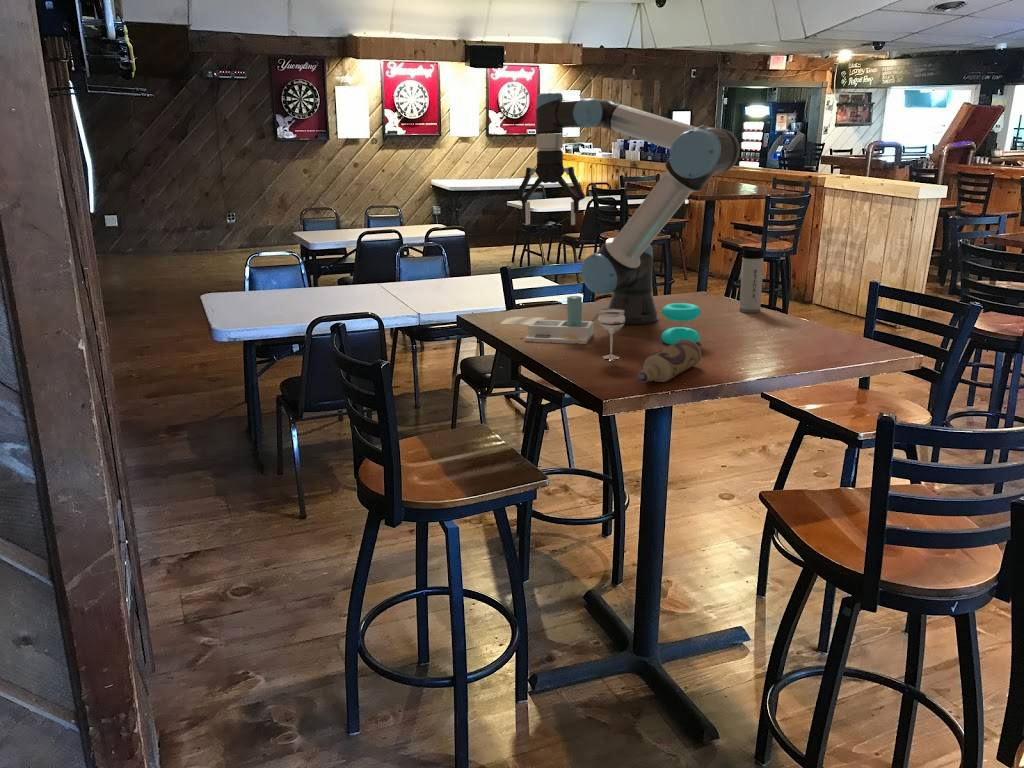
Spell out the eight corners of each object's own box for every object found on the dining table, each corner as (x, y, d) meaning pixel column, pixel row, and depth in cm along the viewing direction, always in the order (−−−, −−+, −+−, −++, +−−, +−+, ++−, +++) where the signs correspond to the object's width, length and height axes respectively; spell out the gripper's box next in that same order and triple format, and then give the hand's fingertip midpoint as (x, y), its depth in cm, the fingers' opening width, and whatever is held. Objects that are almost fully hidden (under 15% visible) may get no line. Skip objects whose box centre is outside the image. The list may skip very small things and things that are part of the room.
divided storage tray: (593, 333, 234) (593, 321, 233) (586, 343, 223) (586, 331, 222) (534, 331, 238) (534, 319, 237) (525, 341, 227) (524, 329, 226)
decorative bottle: (673, 363, 204) (674, 336, 202) (701, 367, 199) (703, 340, 197) (621, 389, 184) (622, 360, 182) (652, 395, 180) (653, 365, 178)
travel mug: (742, 308, 263) (746, 244, 257) (763, 310, 259) (767, 246, 253) (735, 311, 258) (738, 247, 252) (755, 314, 254) (760, 248, 248)
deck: (546, 321, 251) (546, 317, 251) (539, 328, 242) (539, 325, 242) (508, 319, 254) (508, 316, 254) (499, 327, 245) (499, 323, 245)
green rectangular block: (580, 330, 233) (580, 295, 230) (582, 334, 230) (582, 299, 226) (566, 330, 233) (566, 296, 230) (568, 334, 230) (567, 299, 226)
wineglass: (605, 353, 214) (606, 307, 210) (629, 356, 210) (630, 310, 206) (592, 359, 208) (593, 312, 205) (616, 362, 205) (617, 315, 201)
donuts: (703, 309, 215) (664, 309, 215) (702, 346, 218) (663, 347, 218) (697, 301, 224) (660, 302, 225) (696, 337, 227) (659, 338, 228)
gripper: (594, 148, 239) (594, 223, 245) (511, 150, 245) (512, 222, 251) (590, 149, 232) (590, 226, 238) (504, 150, 238) (506, 225, 244)
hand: (550, 224), depth 245 cm, fingers open, 13 cm apart
